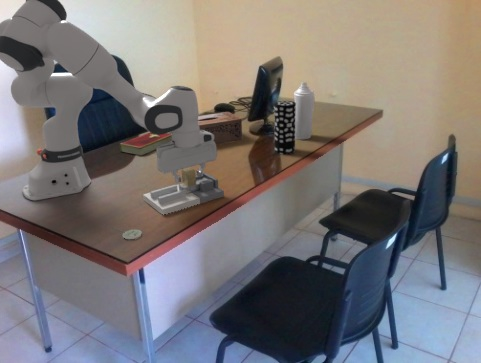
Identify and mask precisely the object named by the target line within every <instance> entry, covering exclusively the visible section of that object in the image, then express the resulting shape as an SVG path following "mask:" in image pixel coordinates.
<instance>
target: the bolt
mask: <svg viewBox="0 0 481 363" xmlns="http://www.w3.org/2000/svg"><path fill="white" fill-rule="evenodd" d="M180 170H181V182H182V183H183V184H182V183H179V184H180V185H179V191H181V190H185V193H189V192H193V191H196V190H199V189H200V182H202V181H205V180H209V179H207V178H205V177H204V178H201V179H197V180H196V175H197V173H196V169H194V168H192V167H188V168H184V169H180Z"/></svg>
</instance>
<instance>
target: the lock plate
mask: <svg viewBox="0 0 481 363" xmlns="http://www.w3.org/2000/svg"><path fill="white" fill-rule="evenodd" d="M204 177H205V178H207V179H209V180H205V181H202V182H200V189H199V190H196V191H193V192H189V193H185V190H181V191H179V185H180V184H183V182H181V183H177V184H172V185H169V186H166V187H162V188H159V189H155V190H151V191H149V192H148V193H143V194H142V197H143V201H144V202H146V203H147V204H148V205H149V206H151V207H152V208H154V210H156V211H157V212H158V213H159V214H161V215H162V214H163V215H162V216H165V215H164V214H166V215H169V214H168V213H170V214H172V213H171V212H173V213H175V212H174V211H176V212H178V210H179V211H182V210H185V209H188V208H191V206H192V207H194V205H195V206H197V204H198V205H200V204H203V203H208V202H210V201H213V200H216V199H219V198H223V197H225V191H224V189H223V188H220V187H219V179H218V178H216V177H214V176H212V175H210V174H208V173H207V172H204V171H203V176H201V177H198V176H197V174H196V180H197V179H201V178H204ZM187 207H188V208H187ZM184 208H185V209H184ZM181 209H182V210H181Z"/></svg>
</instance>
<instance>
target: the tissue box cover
mask: <svg viewBox="0 0 481 363" xmlns="http://www.w3.org/2000/svg"><path fill="white" fill-rule="evenodd" d="M198 124H199V127H200V130H204V131H207V132H210V133H212V134H213V135H214V140H213V141H214V142H215V144H216V146H218V145H222V144H227V143H228V144H229V143H235V142H240V141H242V140H243V125H242V124H243V123H242V118H241V117H239V116H237V115H235V114H233V113H232V112H230V111H225V112H224V111H222V112H217V113H211V114H203V115H199V116H198Z"/></svg>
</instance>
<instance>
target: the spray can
mask: <svg viewBox="0 0 481 363" xmlns="http://www.w3.org/2000/svg"><path fill="white" fill-rule="evenodd" d="M293 98H294V99H293V100H294V102H295V103H296V116H295V140H308V139H311V137H312V133H313V116H314V115H313V114H314V108H315V107H314V106H315V99H316V98H315V93H314V91H313V90H311V89H310V87H309V86H308V84H307V82H303V81H301V83H300V86H299V87H298V88H297V90H294V92H293Z"/></svg>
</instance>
